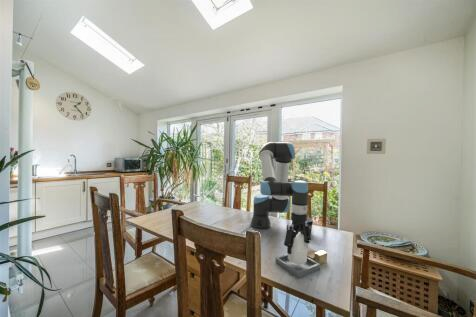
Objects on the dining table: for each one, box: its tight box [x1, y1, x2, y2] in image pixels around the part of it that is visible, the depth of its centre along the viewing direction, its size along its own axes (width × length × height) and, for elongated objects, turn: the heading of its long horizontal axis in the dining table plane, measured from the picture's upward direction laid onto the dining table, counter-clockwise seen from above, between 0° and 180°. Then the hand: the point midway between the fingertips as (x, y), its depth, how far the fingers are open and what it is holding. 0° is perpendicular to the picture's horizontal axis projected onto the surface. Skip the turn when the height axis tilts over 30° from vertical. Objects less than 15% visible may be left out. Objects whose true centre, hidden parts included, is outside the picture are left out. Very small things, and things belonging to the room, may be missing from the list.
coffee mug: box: [307, 217, 314, 236], centre depth 142 cm, size 12×9×10 cm
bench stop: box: [314, 249, 328, 266], centre depth 105 cm, size 3×6×5 cm, turn 121°
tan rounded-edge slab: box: [307, 246, 317, 260], centre depth 111 cm, size 10×8×2 cm
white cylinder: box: [289, 232, 308, 264], centre depth 100 cm, size 9×9×12 cm
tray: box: [274, 253, 321, 279], centre depth 101 cm, size 15×15×3 cm
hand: (297, 257), depth 101 cm, fingers open, 9 cm apart
